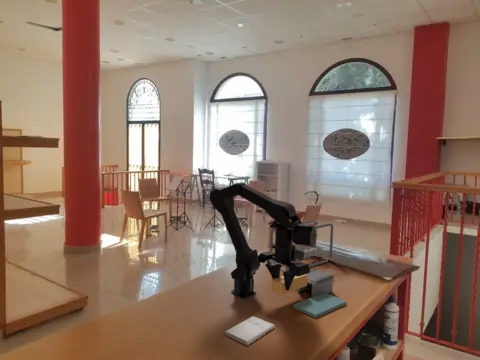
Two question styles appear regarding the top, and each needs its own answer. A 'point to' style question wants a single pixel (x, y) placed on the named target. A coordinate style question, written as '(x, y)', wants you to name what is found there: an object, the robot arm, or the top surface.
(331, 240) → the newton's cradle
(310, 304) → the mat
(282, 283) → the tan rectangular slab
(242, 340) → the external hard drive
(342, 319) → the top surface
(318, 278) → the dispenser
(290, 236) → the robot arm
